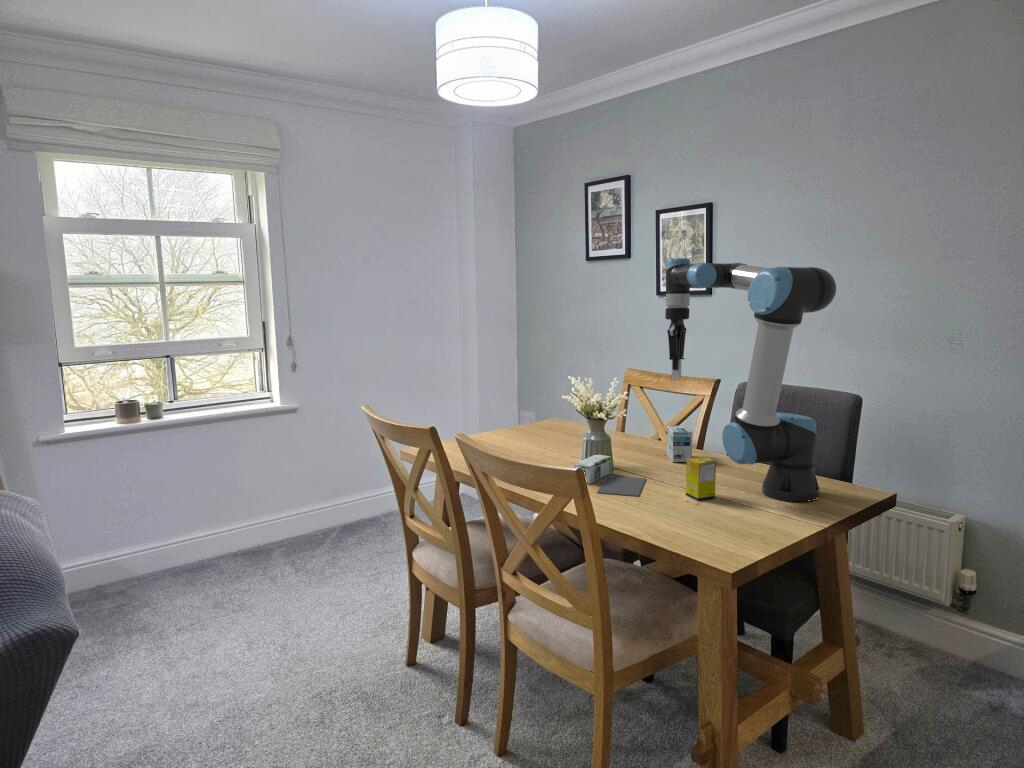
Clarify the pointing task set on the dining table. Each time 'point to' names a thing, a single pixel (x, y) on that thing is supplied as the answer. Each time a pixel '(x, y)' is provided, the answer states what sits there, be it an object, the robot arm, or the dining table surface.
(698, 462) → the supplement box
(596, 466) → the syrup box
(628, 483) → the mat
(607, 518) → the dining table surface
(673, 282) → the robot arm
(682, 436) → the light bulb box
